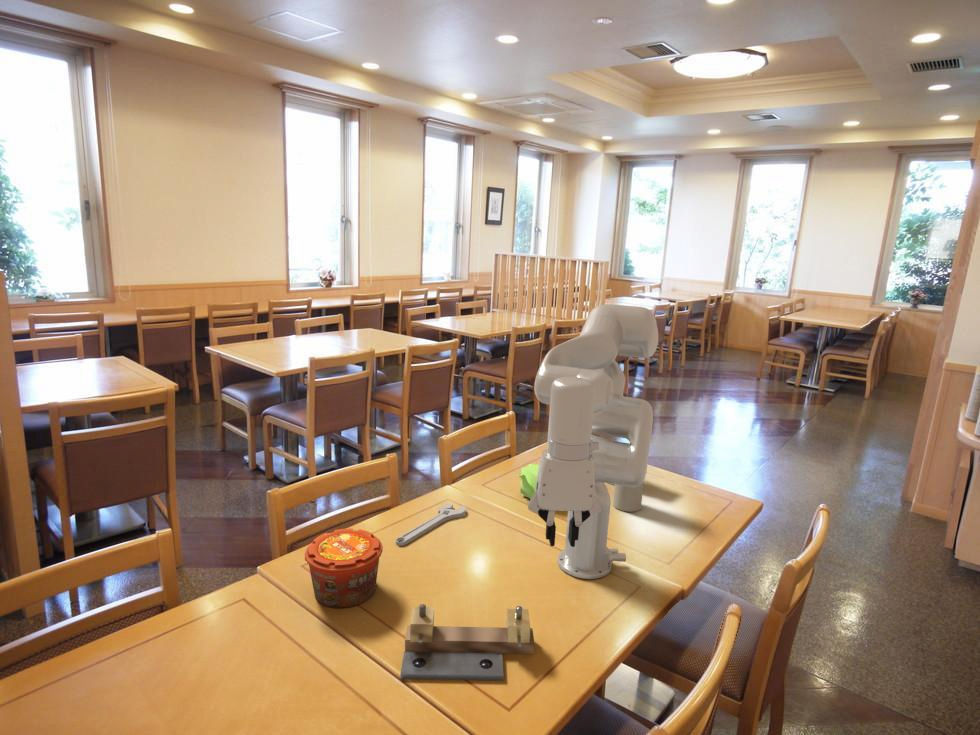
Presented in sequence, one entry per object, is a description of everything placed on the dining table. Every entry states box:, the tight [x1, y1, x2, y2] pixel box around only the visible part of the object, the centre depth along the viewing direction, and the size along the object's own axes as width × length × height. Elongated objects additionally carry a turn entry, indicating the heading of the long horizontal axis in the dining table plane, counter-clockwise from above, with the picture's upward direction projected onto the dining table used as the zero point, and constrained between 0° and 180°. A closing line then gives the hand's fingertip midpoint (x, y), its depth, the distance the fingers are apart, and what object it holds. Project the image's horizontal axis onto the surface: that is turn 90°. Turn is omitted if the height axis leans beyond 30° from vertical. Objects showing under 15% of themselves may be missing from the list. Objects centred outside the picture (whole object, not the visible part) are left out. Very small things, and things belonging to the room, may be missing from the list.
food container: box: [304, 527, 384, 609], centre depth 126 cm, size 16×16×11 cm
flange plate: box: [399, 651, 504, 681], centre depth 106 cm, size 18×6×1 cm, turn 91°
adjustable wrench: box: [395, 503, 467, 547], centre depth 156 cm, size 25×6×2 cm, turn 140°
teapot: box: [516, 463, 539, 500], centre depth 173 cm, size 15×13×11 cm
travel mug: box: [612, 480, 645, 513], centre depth 169 cm, size 8×8×18 cm
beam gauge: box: [404, 603, 535, 655], centre depth 110 cm, size 24×7×8 cm, turn 91°
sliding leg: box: [506, 605, 531, 647], centre depth 110 cm, size 4×7×6 cm, turn 1°
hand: (561, 541), depth 107 cm, fingers open, 3 cm apart
